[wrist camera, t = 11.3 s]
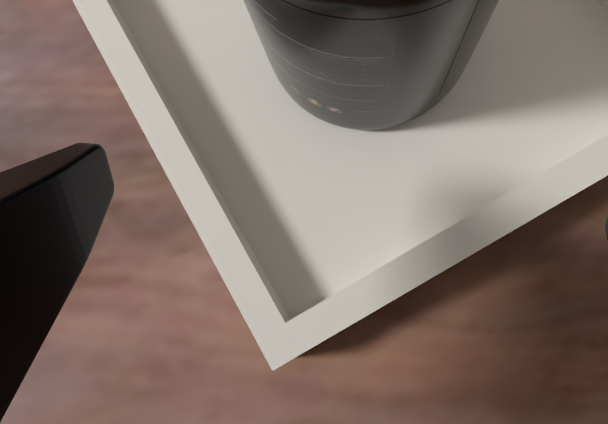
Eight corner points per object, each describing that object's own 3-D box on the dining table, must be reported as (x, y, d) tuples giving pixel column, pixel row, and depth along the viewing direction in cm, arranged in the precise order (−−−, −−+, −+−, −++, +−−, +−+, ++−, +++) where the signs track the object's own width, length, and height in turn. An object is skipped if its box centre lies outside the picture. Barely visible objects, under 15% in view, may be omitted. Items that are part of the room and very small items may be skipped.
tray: (697, 117, 17) (754, 89, 15) (284, 358, 17) (272, 370, 15) (437, -224, 20) (450, -296, 18) (82, -11, 20) (43, -53, 18)
